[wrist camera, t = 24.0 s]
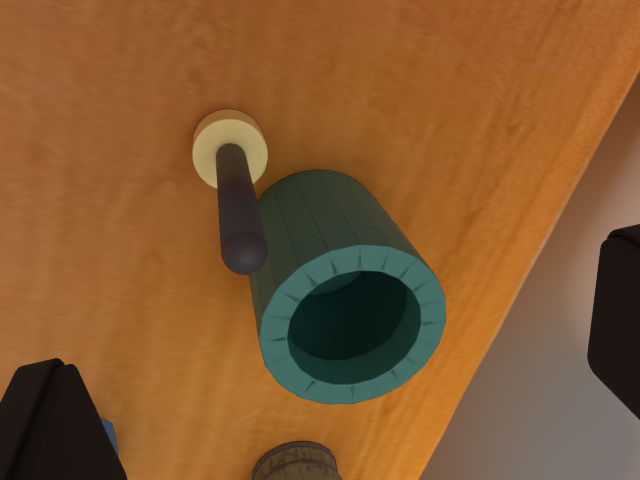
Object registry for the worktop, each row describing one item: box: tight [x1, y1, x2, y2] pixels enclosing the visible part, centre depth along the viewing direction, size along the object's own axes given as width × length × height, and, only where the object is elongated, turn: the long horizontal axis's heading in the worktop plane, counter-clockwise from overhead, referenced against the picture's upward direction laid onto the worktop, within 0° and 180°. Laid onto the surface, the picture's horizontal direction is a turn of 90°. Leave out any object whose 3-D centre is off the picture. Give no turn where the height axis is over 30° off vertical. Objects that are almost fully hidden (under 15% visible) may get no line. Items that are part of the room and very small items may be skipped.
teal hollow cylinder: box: [249, 170, 446, 404], centre depth 37 cm, size 11×11×13 cm
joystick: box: [192, 109, 268, 275], centre depth 30 cm, size 5×5×18 cm
